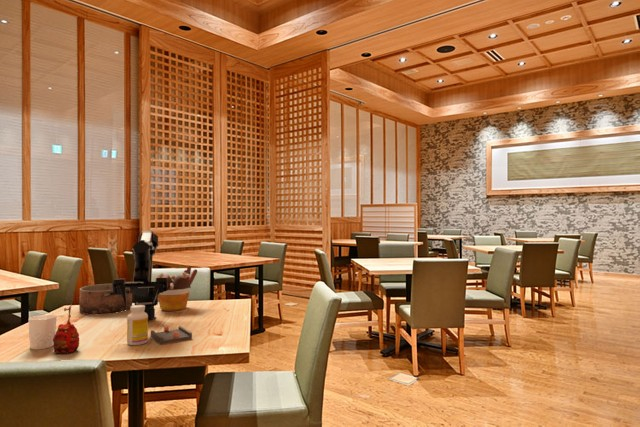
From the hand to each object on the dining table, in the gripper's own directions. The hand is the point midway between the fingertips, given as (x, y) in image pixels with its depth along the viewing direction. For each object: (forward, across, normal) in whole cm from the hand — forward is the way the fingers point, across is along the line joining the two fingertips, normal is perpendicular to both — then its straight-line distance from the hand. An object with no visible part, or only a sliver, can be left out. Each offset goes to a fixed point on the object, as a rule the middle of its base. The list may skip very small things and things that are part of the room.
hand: (139, 304), depth 151 cm
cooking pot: (-32, +19, -50) cm, 62 cm away
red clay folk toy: (+15, +21, -3) cm, 26 cm away
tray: (+10, -11, -7) cm, 17 cm away
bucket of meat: (-26, -12, -44) cm, 52 cm away
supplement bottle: (+13, 0, -6) cm, 14 cm away
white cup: (+9, +30, -9) cm, 33 cm away
